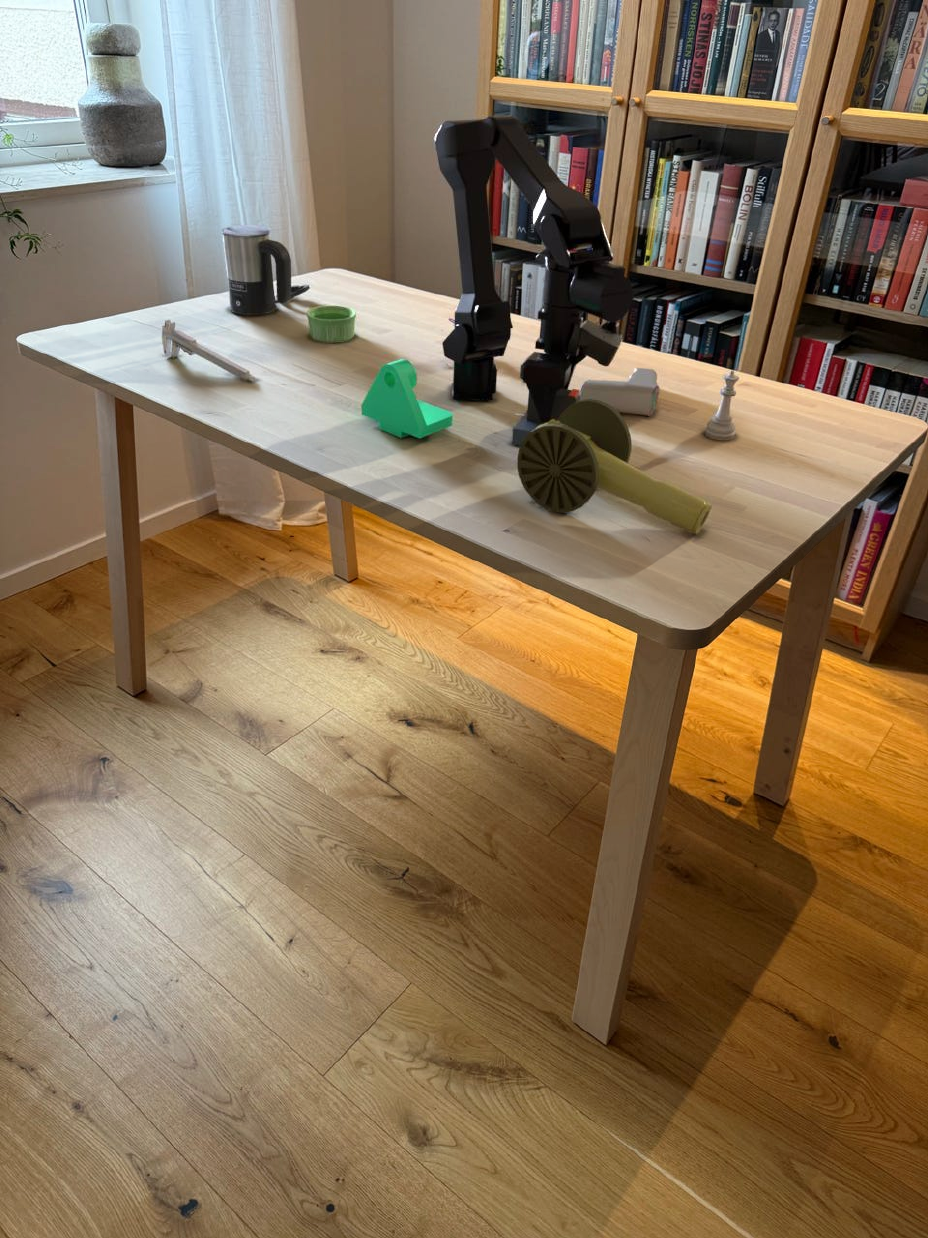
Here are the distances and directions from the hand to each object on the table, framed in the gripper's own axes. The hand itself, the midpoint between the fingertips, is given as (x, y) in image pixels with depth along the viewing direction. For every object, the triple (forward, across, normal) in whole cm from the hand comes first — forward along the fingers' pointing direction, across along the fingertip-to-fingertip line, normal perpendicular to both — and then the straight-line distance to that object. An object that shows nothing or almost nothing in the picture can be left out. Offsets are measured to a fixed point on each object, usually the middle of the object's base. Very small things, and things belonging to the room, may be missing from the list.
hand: (552, 410), depth 137 cm
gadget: (+1, 0, 0) cm, 1 cm away
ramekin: (+4, +28, +49) cm, 57 cm away
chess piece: (+4, +11, -24) cm, 26 cm away
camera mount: (+4, -5, +21) cm, 22 cm away
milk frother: (+4, +41, +68) cm, 79 cm away
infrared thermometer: (+4, +20, -6) cm, 21 cm away
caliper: (+4, +5, +60) cm, 61 cm away
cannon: (+4, -19, -13) cm, 23 cm away
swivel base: (+4, 0, -2) cm, 4 cm away
